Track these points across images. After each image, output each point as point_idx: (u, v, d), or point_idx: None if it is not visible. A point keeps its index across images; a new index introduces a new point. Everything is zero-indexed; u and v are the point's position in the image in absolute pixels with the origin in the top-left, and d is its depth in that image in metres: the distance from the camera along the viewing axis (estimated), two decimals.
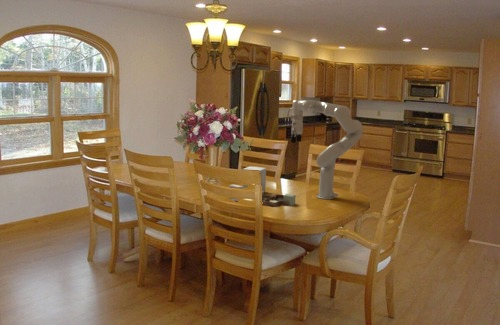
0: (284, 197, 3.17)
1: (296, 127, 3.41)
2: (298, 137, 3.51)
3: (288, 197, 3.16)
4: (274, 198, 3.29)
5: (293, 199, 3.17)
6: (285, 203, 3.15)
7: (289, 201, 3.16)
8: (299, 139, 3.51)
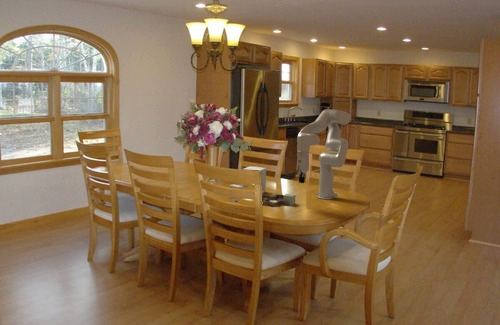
0: (284, 197, 3.17)
1: (302, 165, 3.06)
2: None
3: (288, 197, 3.16)
4: (274, 198, 3.29)
5: (293, 199, 3.17)
6: (285, 203, 3.15)
7: (289, 201, 3.16)
8: None
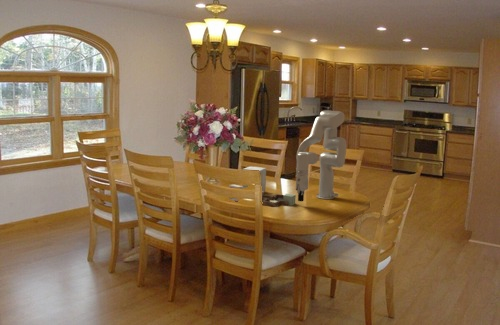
0: (284, 197, 3.17)
1: (301, 184, 3.08)
2: None
3: (288, 197, 3.16)
4: (274, 198, 3.29)
5: (293, 199, 3.17)
6: (285, 203, 3.15)
7: (289, 201, 3.16)
8: None
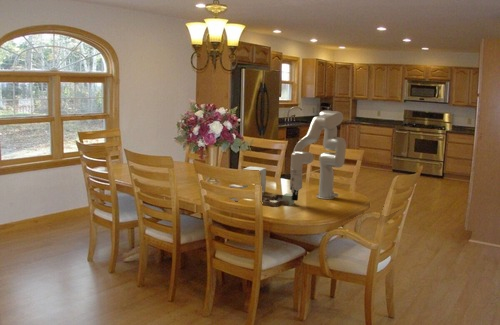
0: (283, 197, 3.17)
1: (295, 183, 3.10)
2: None
3: (287, 197, 3.16)
4: (274, 198, 3.29)
5: None
6: (285, 203, 3.15)
7: (288, 201, 3.16)
8: None
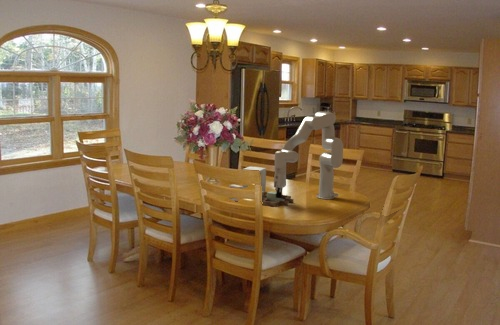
0: (267, 194, 3.23)
1: (279, 181, 3.15)
2: None
3: (271, 194, 3.21)
4: None
5: None
6: (285, 203, 3.15)
7: (272, 198, 3.21)
8: None
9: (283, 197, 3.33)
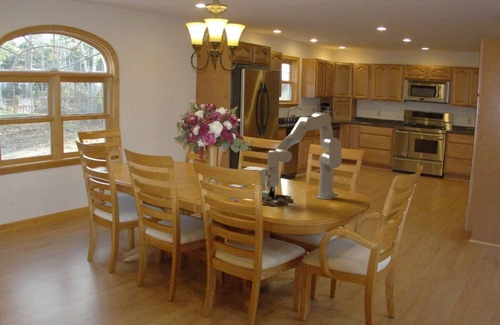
0: None
1: (271, 180, 3.18)
2: None
3: (264, 193, 3.24)
4: (274, 198, 3.29)
5: None
6: (285, 203, 3.15)
7: (265, 197, 3.24)
8: None
9: (283, 197, 3.33)
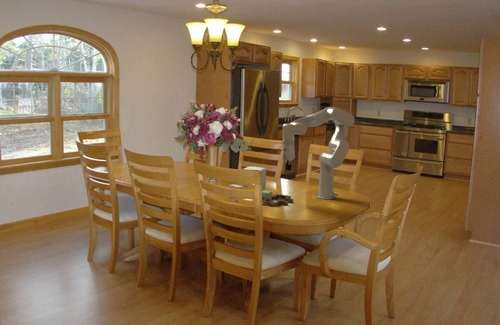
0: None
1: (287, 153, 3.18)
2: None
3: (264, 193, 3.24)
4: (274, 198, 3.29)
5: (269, 195, 3.25)
6: (285, 203, 3.15)
7: (265, 197, 3.24)
8: None
9: (283, 197, 3.33)
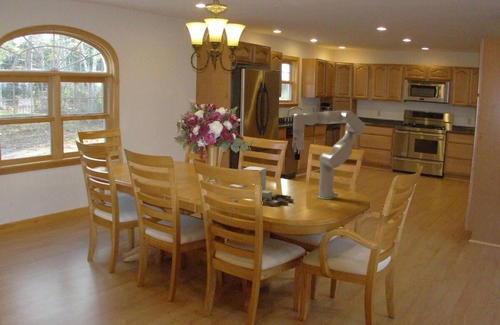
0: None
1: (297, 142, 3.22)
2: None
3: (264, 193, 3.24)
4: (274, 198, 3.29)
5: (269, 195, 3.25)
6: (285, 203, 3.15)
7: (265, 197, 3.24)
8: None
9: (283, 197, 3.33)
